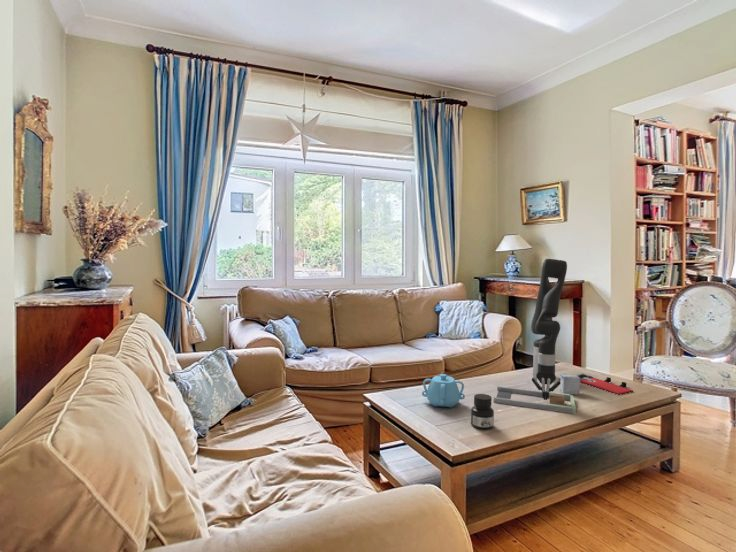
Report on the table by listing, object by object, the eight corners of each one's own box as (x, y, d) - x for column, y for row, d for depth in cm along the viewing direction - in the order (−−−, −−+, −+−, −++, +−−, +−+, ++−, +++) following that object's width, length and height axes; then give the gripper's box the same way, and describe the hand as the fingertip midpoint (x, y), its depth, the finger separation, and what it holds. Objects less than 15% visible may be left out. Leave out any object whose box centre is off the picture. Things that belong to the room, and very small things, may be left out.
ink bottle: (472, 430, 164) (472, 400, 163) (468, 420, 173) (468, 392, 172) (497, 430, 164) (497, 400, 163) (491, 421, 172) (492, 393, 172)
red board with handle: (585, 374, 238) (566, 378, 232) (585, 370, 237) (566, 373, 231) (637, 391, 211) (618, 396, 204) (638, 386, 210) (618, 391, 204)
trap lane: (497, 390, 211) (497, 385, 211) (572, 399, 198) (573, 394, 198) (493, 402, 194) (493, 397, 194) (575, 413, 181) (575, 408, 181)
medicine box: (576, 391, 209) (576, 374, 208) (579, 394, 205) (580, 377, 204) (559, 391, 210) (560, 374, 209) (563, 394, 205) (563, 377, 205)
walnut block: (549, 401, 196) (550, 393, 196) (563, 403, 194) (564, 395, 193) (549, 406, 190) (550, 397, 190) (564, 408, 188) (564, 399, 188)
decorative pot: (418, 400, 196) (418, 372, 195) (446, 395, 203) (446, 367, 202) (439, 412, 182) (439, 382, 181) (468, 406, 189) (468, 377, 188)
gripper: (561, 362, 194) (560, 398, 195) (531, 359, 199) (530, 394, 200) (562, 366, 187) (561, 404, 188) (530, 363, 192) (529, 399, 193)
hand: (545, 399), depth 194 cm, fingers closed
